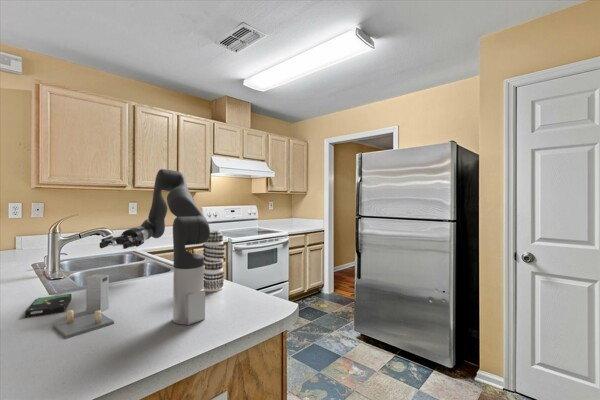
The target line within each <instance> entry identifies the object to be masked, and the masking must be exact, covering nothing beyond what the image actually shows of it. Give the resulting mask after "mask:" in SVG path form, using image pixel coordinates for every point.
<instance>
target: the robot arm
mask: <svg viewBox="0 0 600 400" xmlns="http://www.w3.org/2000/svg"><path fill="white" fill-rule="evenodd" d="M162 192H168V194H167V196H166V200H165V198H164V197H163V195H162ZM151 201H152V203H151V207H150V210H149V213H148V218H147V219H145V220H144V221H143V222H142V223H141V225H139V226H135V227H131V228H128V229H126V230H124V231H123V232H121V234H120V235H119V236H118V235H117V236H113V235H110V236H107V237H105V238H104V237H103V238H102V239H100V241H101V242H99V248H100V249H103V248H104V249H105V248H106V247H110V246H112V247H117V246H122V250H123V249H124V250H127V249H129V248H134V247H137V248H138V247H140V246H141V245H143V244H144V243H145V241H147V240H149V239H150V238H153V239H159V238H161V237H163V235H164V234H165V231H166V224H165V219H166V215H167V213H168V209H169V212H170V213H171V214H172V215H174V217H175V218H174V219H173V222H172V223H173V224H172V242H173V248H172V249H173V276H172V277H173V279H172V280H173V283H172V284H173V285H172V286H173V289H172V290H173V291H172V292H173V293H172V295H173V296H172V322H173V323H174V324H177V325H187V326H190V325H193V324H195V323H198V322H200V321H203V320H205V319H206V291H205V290H204V280H205V279H204V276H205V275H204V268H205V263H204V255H201V254H198V253H193V252H191V251H188V250H187V249H186V246H193V245H201V244H202V245H203V244H204V243H205V242H207V240H208V239H209V236H210V231H211V230H210V229H211V228H210V225H209V222H208V219H207V218H206V217H205V215H204V214H203V213H202V211H201V210H200V209H199V207H198V205H197V203H196V202H195V199H194V197H193V195H192V193H191V192H190V190H189V187H188V185H187V181H186V178H185V176H184V174H183V173H182V172H180V171H177V170H171V169H164V168H161V169H159V170H158V172H157V173H156V176H155V180H154V187H153V194H152V200H151Z"/></svg>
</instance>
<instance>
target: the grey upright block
mask: <svg viewBox="0 0 600 400" xmlns="http://www.w3.org/2000/svg"><path fill="white" fill-rule="evenodd" d="M109 283H110V274H102V273H101V274H99V273H98V274H97V273H95V274H93V275H89V276H87V277H86V278H85V284H86V286H85V288H86V289H85V297H86V298H85V313H87V314H92V313H95V311H98V310H101V313H102V312H105V311H107V310H108V309H109V303H110V301H109V295H110V294H109V293H110V292H109V289H110V286H109V285H110V284H109Z"/></svg>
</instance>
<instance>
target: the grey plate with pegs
mask: <svg viewBox="0 0 600 400" xmlns="http://www.w3.org/2000/svg"><path fill="white" fill-rule="evenodd" d="M113 324H115V320H113V319H112V318H110V317H109V316H107V315H105V314H103V313H102V312H101V310H98V311H95V313H88V314H86V315H82V316H78V317H74V309H70V310H66V320H64V321H63V320H62V321H59V322H56V323H53V324H52V327H53V328H54V329H55V330H56V331H57V332H58V333H60V334H61V335H62V336H63V337H65V339H68V338H71V337H75V336H78V335H82V334H85V333H88V332H91V331H95V330H97V329H98V330H99V329H100V328H104V327H107V326H110V325H113Z"/></svg>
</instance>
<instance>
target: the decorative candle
mask: <svg viewBox="0 0 600 400" xmlns="http://www.w3.org/2000/svg"><path fill="white" fill-rule="evenodd" d="M225 246H226V244H224V234H223V233H222V231H220V230H218V229H216V230H213V229H212V230H210V236H209V239H208V240H207V242H205V243H202V247H203V250H202V251H203V253H202V256H203V258H204V290H205V292H219V291H222V290H223V289H224V281H225V280H224V276H225V275H224V273H225V272H224V267H223V266H224V265H223V263H224V258H225V256H224V255H225V252H223V251H224V250H225V249H226V248H225Z"/></svg>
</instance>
